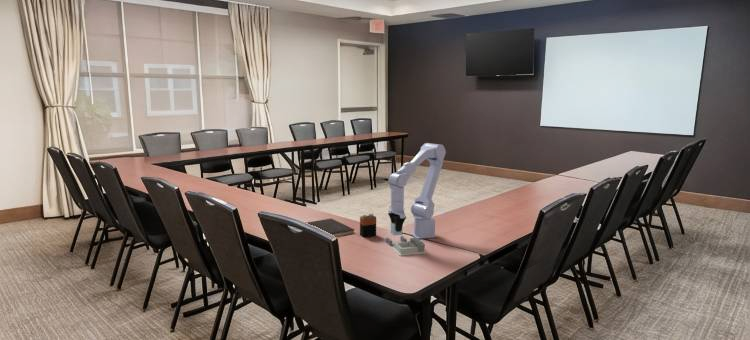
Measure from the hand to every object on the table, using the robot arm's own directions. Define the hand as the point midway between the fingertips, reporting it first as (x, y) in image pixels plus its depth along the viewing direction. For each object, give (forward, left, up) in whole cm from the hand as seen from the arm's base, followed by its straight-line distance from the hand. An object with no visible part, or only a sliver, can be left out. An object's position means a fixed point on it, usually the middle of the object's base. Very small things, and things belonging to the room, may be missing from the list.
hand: (396, 229), depth 201 cm
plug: (0, 0, -2) cm, 2 cm away
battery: (+9, -14, -6) cm, 18 cm away
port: (-1, +11, -6) cm, 13 cm away
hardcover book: (+25, -28, -7) cm, 38 cm away
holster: (0, 0, -6) cm, 6 cm away
